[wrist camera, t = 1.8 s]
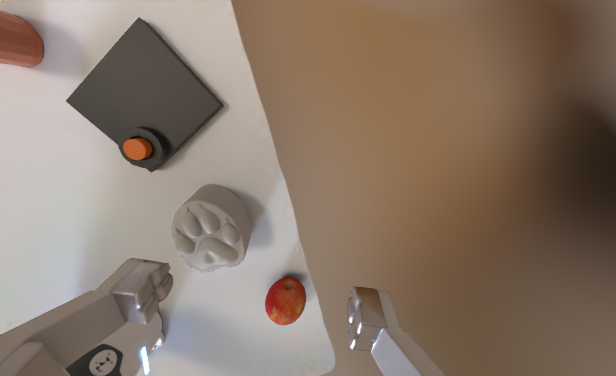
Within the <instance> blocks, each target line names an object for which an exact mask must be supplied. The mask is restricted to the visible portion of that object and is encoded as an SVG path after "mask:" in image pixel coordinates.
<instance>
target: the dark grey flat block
mask: <svg viewBox="0 0 616 376" xmlns="http://www.w3.org/2000/svg"><path fill="white" fill-rule="evenodd" d="M66 102H67V103H69V104H70V105H71V106H72V107H73V108H75V109H76V110H77V111H78V112H79V113H81V114H82V115H83V116H84V117H85V118H87V119H88V120H89V121H90V122H91V123H93V124H94V125H95V126H96V127H97V128H99V129H100V130H101V131H102V132H103V133H105V134H106V135H107V136H108V137H109V138H110V139H112V140H113V141H114V142H115V143H116V144H118V145H119V149H120V151H121V153H122V155H123V157H124V158H125V159H126V160H128V161H129V162H130V163H131V164H133V165H136V166H139V167H143V168H146V169H148V170H149V171H150V172H153V171H155V170H158V169H159V168H160V167H161V166H162V165H163V164H164V163H165V162H166V161H167V160H168V159H169V158H170V157H171V156H172V155H173V154H174V153H175V152H176V151H177V150H178V149H179V148H180V147H181V146H182V145H184V144H185V143H186V142H187V141H188V140H189V139H190V138H191V137H192V136H193V135H194V134H195V133H196V132H197V131H198V130H199V129H200V128H201V127H202V126H203V125H204V124H205V123H206V122H207V121H208V120H209V119H210V118H211V117H213V116H214V115H215V114H216V113H217V112H218V111H219V110H220V109H221V108H222V107H223V106H224V105H223V104H222V103H221V102H220V101H219V100H218V99H217V98H216V96H215V95H214V94H213V93H212V92H211V91H210V90H209V89H208V88H207V87H206V86H205V85H204V83H203V82H202V81H201V80H200V79H199V78H198V77H197V76H196V75H195V74H194V73H193V72H192V70H191V69H190V68H189V67H188V66H187V65H186V64H185V63H184V62H183V61H182V60H181V59H180V57H179V56H178V55H177V54H176V53H175V52H174V51H173V50H172V49H171V48H170V47H169V46H168V44H167V43H166V42H165V41H164V40H163V39H162V38H161V37H160V36H159V35H158V34H157V33H156V31H155V30H154V29H153V28H152V27H151V26H150V25H149V24H148V23H147V22H146V21H144V20H142V19H141V18H138V19H137V20H136V21H135V22H134V23H133V24H132V26H131V27H130V28H129V29H128V30H127V31H126V32H125V34H124V35H123V36H122V37H121V38H120V39H119V40H118V42H117V43H116V44H115V45H114V46H113V47H112V49H111V50H110V51H109V52H108V53H107V54H106V55H105V57H104V58H103V59H102V60H101V61H100V62H99V63H98V65H97V66H96V67H95V68H94V69H93V70H92V71H91V73H90V74H89V75H88V76H87V77H86V78H85V80H84V81H83V82H82V83H81V84H80V85H79V86H78V88H77V89H76V90H75V91H74V92H73V93H72V94H71V96H70V97H69V98H68V99H67V100H66ZM134 138H143V139H146V140H147V141H148V142H149V143H150V144H151V145H152V148H153V151H152V154H151V155H150V156H149V157H147V158H144V159H141V160H134V159H131V158H129V157H128V156H127V155H126V154H125V152H124V149H123V145H124V143H125V142H126V141H127V140H129V139H134Z"/></svg>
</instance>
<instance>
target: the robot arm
mask: <svg viewBox="0 0 616 376" xmlns="http://www.w3.org/2000/svg"><path fill="white" fill-rule="evenodd" d="M169 270H170V266H169V263H163V262H157V261H150V260H144V259H137V258H131V259H128V260H127V261H126V262H125V263H123V264H122V265H121V266H120V267H119V268H118V269H117V270H116V271H115V272H114V273H113V274H112V275H111V276H110V277H109V278H108V279H107V280H106V281H105V282H104V283H103V284H102V285H101V286H100V287H99V288H98V289H97V290H96V291H89V292H87V293H85V294H83V295H81V296H79V297H77V298H75V299H73V300H71V301H69V302H67V303H65V304H63V305H61V306H59V307H57V308H55V309H53V310H51V311H48V312H46V313H44V314H42V315H40V316H38V317H36V318H34V319H32V320H30V321H28V322H26V323H24V324H22V325H20V326H18V327H16V328H14V329H12V330H10V331H8V332H6V333H4V334H2V335H0V376H136V375H137V373H138V371H139V370H140V368H141V367H142V365H143V363H144V369H145V374H147V373H148V372H149V365H148V359H147V357H148V355H149V354H150V352H151V351H152V350H153V349H155V348H157V347H159V346H161V345H162V344H163V342H164V341H165V337H164V335H163V333H162V319H161V317H160V315H159V313H158V312H157V310H158V309H159V302H161V301H162V300H164V299H165V298H166V297H167V296H168V294H169V293H170V290H171V288H172V285H173V277H172V275H171V274H170V273H169V272H168V271H169ZM351 294H352V297H350V298H349V300H348V304H347V320H348V322H349V324H350V325H351V327H350V330H349V338H350V348H351V349H354V350H360V351H367V352H371V354H372V356H373V358H374V359H375V361H376V363H377V365H378V366H379V368H380V370H381V371H382V373H383V375H384V376H445V375H444V374H443V373H442V372H441V371H440V369H439V368H438V367H437V366H436V365H435V364H434V363H433V361H432V360H431V359H430V358H429V357H428V356H427V355H426V353H425V352H424V351H423V350H422V349H421V348H420V347H419V346H418V345H417V343H416V342H415V341H414V340H413V339H412V338H411V336H410V335H409V334H408V333H407V332H406V331H405V330H402V329H401V327H400V324H399V321H398V318H397V315H396V312H395V309H394V305H393V303H392V300H391V296H390V293H389V292H388V291H386V290H378V289H372V288H363V287H353V288H352V290H351Z"/></svg>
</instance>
